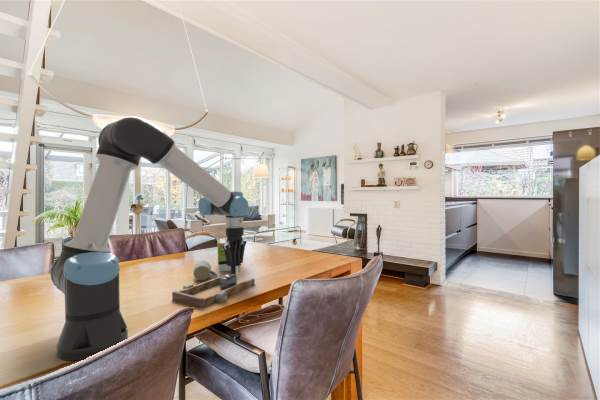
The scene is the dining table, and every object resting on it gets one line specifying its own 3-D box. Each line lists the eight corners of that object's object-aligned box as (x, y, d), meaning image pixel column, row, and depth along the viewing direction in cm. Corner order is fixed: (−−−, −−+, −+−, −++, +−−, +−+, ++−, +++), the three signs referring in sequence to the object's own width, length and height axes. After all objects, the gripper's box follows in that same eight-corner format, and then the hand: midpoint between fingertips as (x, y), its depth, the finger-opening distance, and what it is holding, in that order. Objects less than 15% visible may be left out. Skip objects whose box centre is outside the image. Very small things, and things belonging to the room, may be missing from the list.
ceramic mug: (193, 282, 129) (193, 265, 129) (194, 277, 137) (194, 261, 137) (217, 280, 132) (218, 263, 132) (217, 275, 140) (217, 259, 140)
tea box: (217, 264, 161) (217, 238, 160) (235, 263, 164) (235, 237, 163) (218, 271, 146) (217, 242, 146) (238, 270, 149) (238, 241, 149)
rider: (228, 290, 118) (228, 278, 118) (216, 287, 122) (216, 276, 122) (240, 285, 124) (240, 274, 124) (228, 283, 128) (228, 272, 128)
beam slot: (206, 309, 99) (206, 300, 99) (168, 298, 109) (168, 290, 109) (258, 285, 125) (258, 278, 125) (224, 278, 135) (223, 272, 135)
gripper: (230, 229, 118) (231, 286, 119) (251, 225, 130) (251, 278, 130) (217, 228, 122) (217, 283, 123) (238, 224, 133) (238, 275, 134)
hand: (235, 280), depth 127 cm, fingers closed
